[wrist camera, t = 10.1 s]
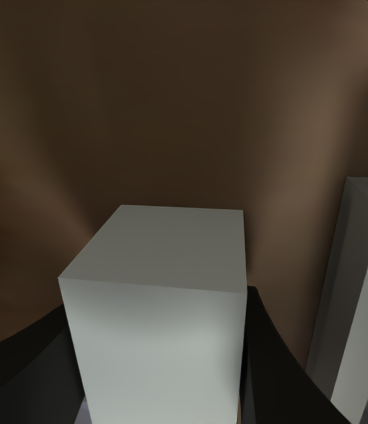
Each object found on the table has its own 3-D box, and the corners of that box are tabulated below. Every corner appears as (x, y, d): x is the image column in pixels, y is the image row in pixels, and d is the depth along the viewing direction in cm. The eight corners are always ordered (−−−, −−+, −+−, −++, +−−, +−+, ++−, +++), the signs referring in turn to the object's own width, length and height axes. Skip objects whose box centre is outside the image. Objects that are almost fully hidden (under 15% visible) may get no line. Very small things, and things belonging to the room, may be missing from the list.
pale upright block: (234, 340, 15) (233, 457, 10) (135, 330, 16) (94, 434, 11) (242, 209, 12) (247, 293, 7) (121, 204, 13) (57, 277, 8)
